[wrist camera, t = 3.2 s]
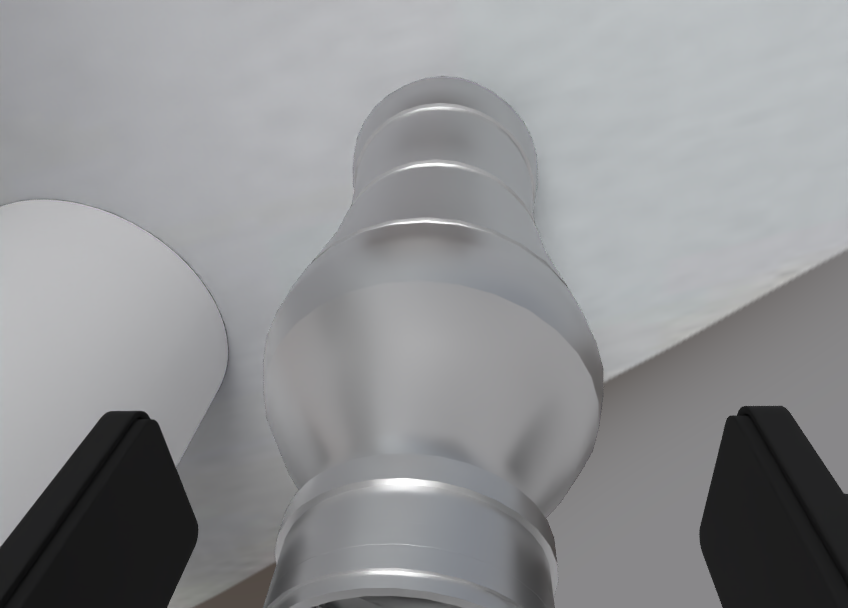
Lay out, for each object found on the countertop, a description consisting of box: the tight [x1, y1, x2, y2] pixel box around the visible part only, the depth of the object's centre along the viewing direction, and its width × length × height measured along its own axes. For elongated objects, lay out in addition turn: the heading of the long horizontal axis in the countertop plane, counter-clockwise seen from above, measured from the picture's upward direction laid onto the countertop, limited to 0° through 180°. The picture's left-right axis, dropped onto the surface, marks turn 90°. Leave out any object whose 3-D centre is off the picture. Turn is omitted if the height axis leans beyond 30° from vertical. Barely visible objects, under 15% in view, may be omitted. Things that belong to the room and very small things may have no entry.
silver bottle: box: [263, 76, 603, 608], centre depth 16 cm, size 6×7×20 cm
